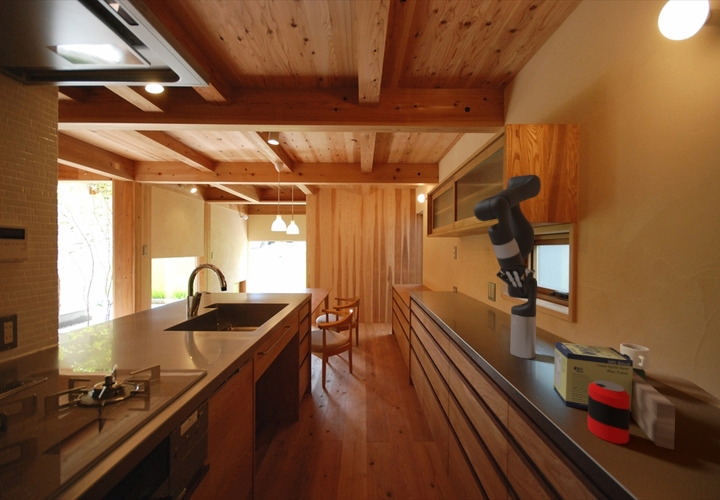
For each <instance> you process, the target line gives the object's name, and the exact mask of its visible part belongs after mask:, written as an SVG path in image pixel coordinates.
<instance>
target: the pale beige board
mask: <svg viewBox="0 0 720 500" xmlns="http://www.w3.org/2000/svg"><path fill="white" fill-rule="evenodd" d="M630 418H632V419H633V420H634V422H636V424H637V425H638V426H639V427H640V429H641V430H642V431H643V433H645V435H647V437H648V438H649V440H651V442H652V443H653V444H654V446H657V447H661V448H665V449H668V450H675V436H676V435H675V428H676V425H675V424H676V423H675V422H676V405H675V404H674V403H673V402H671V401H670V400H669V399H668V398H666V396H664V395H663V394H662V393H660V392H659V391H658V390H657V389H655V388H654V386H652V385H651V384H650V383H648V382H646V381H645V380H644V379H642V378H641V377H640V376H639V375H638V374H636V373H635V372H634V371H633V374H632V406H631V417H630Z"/></svg>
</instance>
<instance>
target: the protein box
mask: <svg viewBox="0 0 720 500" xmlns="http://www.w3.org/2000/svg"><path fill="white" fill-rule="evenodd" d="M553 367H554V368H553V369H554V372H553V373H554V374H553V375H554V376H553V377H554V378H553V390H554V392H555V393H556V395H558V396H557V397H559V399H560V400H561V401H562V403H563V404H564V406H565V407H572V408H577V409H583V410H588V387H589V385H590V384H591V383H592V382H594V381H595V380H604V381H609V382H613V383H615V384H618V385H620V386H622V387H623V388H624V389H625V391H626V392H627V393H628V394H629V396H630V418H632V417H631V406H632V374H633V361H632V360H631V359H629V358H628V357H626V356H624V355H623V354H621V353H620V351H618V350H616V349H615V348H613V347H609V346H597V345H587V344H577V343H570V342H569V343H568V342H558V341H557V342H554V366H553Z"/></svg>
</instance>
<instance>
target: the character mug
mask: <svg viewBox="0 0 720 500" xmlns="http://www.w3.org/2000/svg"><path fill="white" fill-rule="evenodd" d="M619 346H620V347H619V352H620V353H621V354H623V355H624V356H626V357H628V358H629V359H631V360H632V361H633V371H634V372H635V373H636V374H638V375H639V376H640V377H641V378H642V379H644V380H645V381H646V382H647V375H646V371H645V370H649V369H650V366H651V365H650V364H651V349H650V348H648V347H646V346H642V345H639V344H636V343H635V344H634V343H625V342H624V343H620V345H619ZM647 383H648V382H647Z"/></svg>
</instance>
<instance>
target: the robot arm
mask: <svg viewBox="0 0 720 500" xmlns="http://www.w3.org/2000/svg"><path fill="white" fill-rule="evenodd" d="M541 185H542V183H541V178H540V177H539V176H538V175H536V174H526V175H517V176H511V177H510V178H509V179H508V181H507V185H506V189H505V188H504V189H503V190H501V191H499V192H497V193H496V194H495V195H493V196H490V197H487V198H484V199H482V200H479V201H478V202H477V203H476V204H475V206H474V209H473V213H474V214H473V215H474V217H475V218H476V219H477V220H478V221H481V222H488V221H495V220H497V222H496V223H494V224H492V225H491V226H489V227H488V229H487V233H488V236H489V239H490V242H491V244H492V249H493V251H494V254H495V258H496V259H497V262H498V263H497V264H498V265H499V267H500V268H499V269H500V270H499V271H498V272H497V273H496V275H495V276H496V277H498V278H499V279H500V280H502V281H503V282H504V283H505V284H507V294H508V296H509V297H510V298H514V299H525V300H527V301H526V302H524V303H520V304H516V305H513V306H511V308H510V347H509V348H510V352H509V353H510V354H511V355H513V356H515V357H516V358H520V359H521V358H522V359H528V360H529V359H535V358H536V344H537V343H536V342H537V341H536V339H537V337H536V335H537V330H536V329H537V296H538V281H537V278H535V277H533V275H534V274H535V272H536V270H535V269H533V268H532V269H529V268H528V267H527V265H526V264H525V263H524V261H525V260H526V259H527V257H529V255H530V254H531V253H532V250H533V249H534V246H535V230H534V228H533V226H532V224H531V222H529V220H528V219H527V218H526V216H525V214H524V213H523V212H522V209H521V205H520V203H522V202H525V201H526V200H527V201H528V200H529V199H534V198H536V197H537V196H538V195H539V193H540V192H541V187H542V186H541ZM524 274H525V276H524Z"/></svg>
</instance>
